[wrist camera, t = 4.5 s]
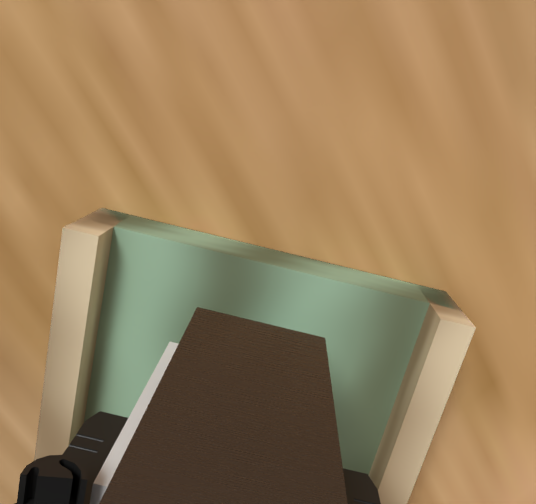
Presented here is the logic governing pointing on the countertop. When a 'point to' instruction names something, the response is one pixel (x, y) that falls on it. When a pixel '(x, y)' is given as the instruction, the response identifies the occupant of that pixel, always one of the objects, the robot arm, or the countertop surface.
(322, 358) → the hammer
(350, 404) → the tray
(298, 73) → the countertop surface
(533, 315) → the countertop surface
